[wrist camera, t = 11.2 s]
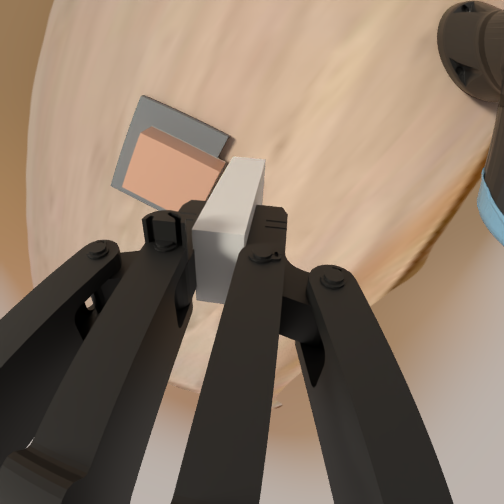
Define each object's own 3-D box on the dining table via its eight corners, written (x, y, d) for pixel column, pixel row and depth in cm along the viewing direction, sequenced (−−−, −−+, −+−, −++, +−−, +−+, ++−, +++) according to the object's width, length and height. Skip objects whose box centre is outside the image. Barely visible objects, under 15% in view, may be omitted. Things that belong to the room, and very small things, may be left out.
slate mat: (229, 135, 42) (228, 137, 42) (186, 221, 51) (184, 223, 51) (143, 94, 40) (141, 95, 39) (112, 183, 49) (110, 185, 48)
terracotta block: (219, 172, 41) (140, 132, 39) (193, 223, 46) (121, 187, 44) (225, 162, 44) (152, 125, 42) (200, 210, 49) (133, 176, 47)
